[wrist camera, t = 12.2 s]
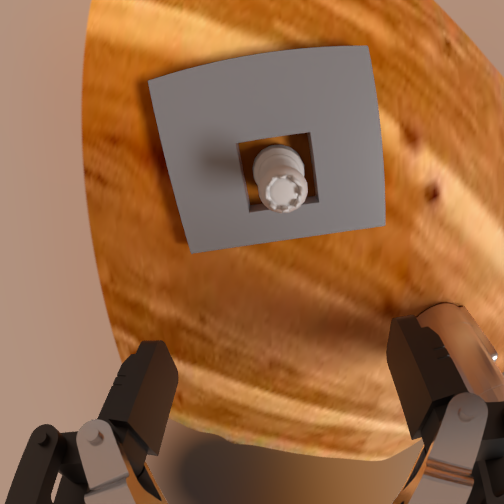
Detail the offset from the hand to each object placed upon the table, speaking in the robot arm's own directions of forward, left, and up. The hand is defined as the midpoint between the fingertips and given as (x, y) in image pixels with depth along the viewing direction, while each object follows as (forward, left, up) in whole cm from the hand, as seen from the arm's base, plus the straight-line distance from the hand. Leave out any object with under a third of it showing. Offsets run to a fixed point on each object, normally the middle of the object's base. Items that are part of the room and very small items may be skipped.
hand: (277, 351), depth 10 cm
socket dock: (-1, -4, -19) cm, 19 cm away
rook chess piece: (-1, -2, -19) cm, 19 cm away
